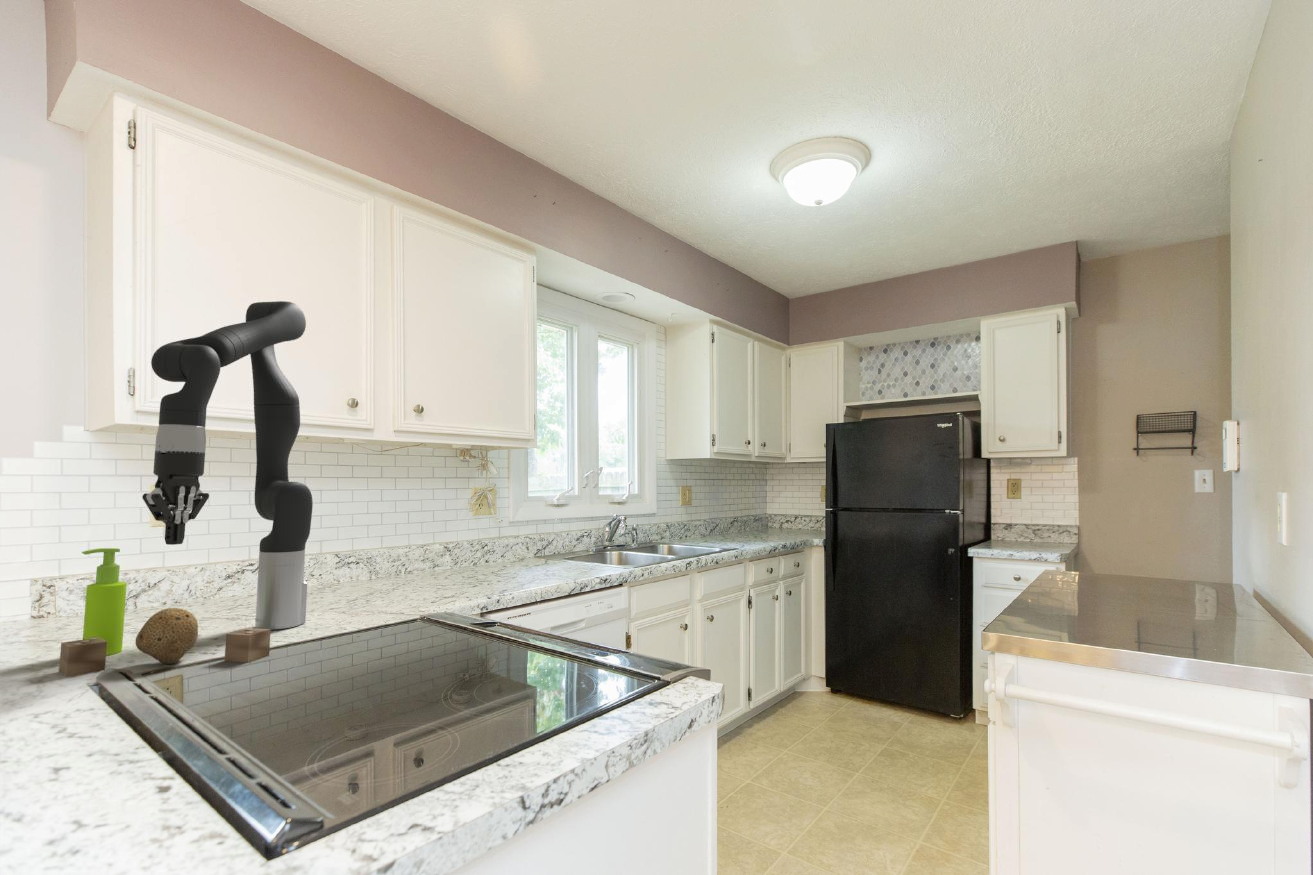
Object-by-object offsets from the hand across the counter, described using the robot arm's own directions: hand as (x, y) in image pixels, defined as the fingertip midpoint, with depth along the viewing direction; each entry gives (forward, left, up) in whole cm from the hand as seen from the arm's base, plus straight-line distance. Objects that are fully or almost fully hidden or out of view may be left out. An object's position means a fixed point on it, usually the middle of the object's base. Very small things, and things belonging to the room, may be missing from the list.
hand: (174, 544), depth 117 cm
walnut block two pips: (-9, +9, -22) cm, 25 cm away
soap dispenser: (+2, -19, -22) cm, 29 cm away
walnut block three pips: (+9, -8, -22) cm, 25 cm away
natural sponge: (0, 0, -22) cm, 22 cm away
